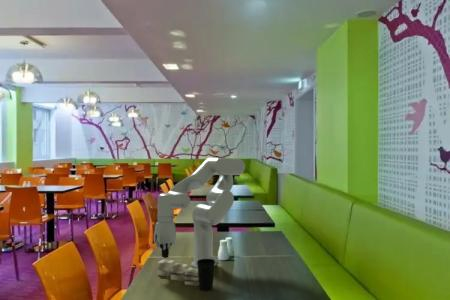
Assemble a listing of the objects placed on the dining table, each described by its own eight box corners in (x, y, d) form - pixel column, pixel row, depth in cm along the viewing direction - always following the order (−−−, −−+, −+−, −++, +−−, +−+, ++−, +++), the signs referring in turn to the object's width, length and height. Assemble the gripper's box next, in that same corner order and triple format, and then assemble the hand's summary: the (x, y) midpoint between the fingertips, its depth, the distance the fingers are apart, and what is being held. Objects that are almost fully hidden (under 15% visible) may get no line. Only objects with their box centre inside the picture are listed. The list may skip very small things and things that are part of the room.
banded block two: (202, 281, 193) (202, 268, 193) (197, 286, 187) (197, 272, 187) (190, 280, 195) (189, 267, 195) (184, 284, 189) (184, 271, 189)
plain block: (174, 272, 206) (174, 260, 206) (168, 276, 200) (168, 263, 200) (163, 271, 208) (163, 259, 208) (157, 275, 202) (157, 262, 202)
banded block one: (188, 277, 200) (188, 264, 199) (182, 281, 194) (182, 268, 194) (176, 275, 202) (176, 263, 202) (170, 279, 196) (170, 266, 196)
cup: (214, 285, 188) (214, 258, 187) (214, 291, 180) (214, 263, 180) (197, 285, 187) (197, 258, 187) (196, 291, 180) (196, 263, 179)
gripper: (173, 216, 211) (173, 253, 212) (147, 220, 202) (147, 258, 202) (182, 218, 206) (182, 256, 206) (156, 222, 196) (156, 261, 196)
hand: (165, 257), depth 204 cm, fingers closed
